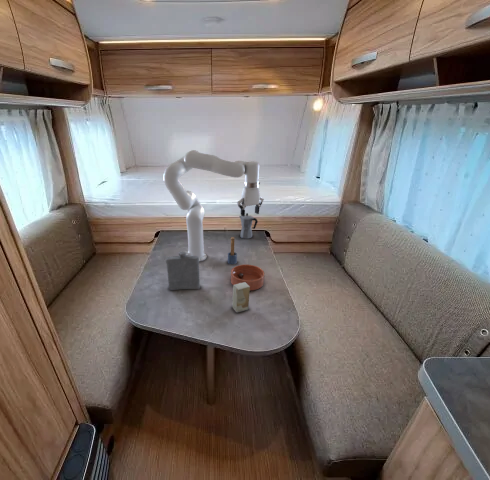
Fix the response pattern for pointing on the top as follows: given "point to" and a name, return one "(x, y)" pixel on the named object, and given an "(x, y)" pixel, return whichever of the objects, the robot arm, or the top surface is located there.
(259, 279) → the bowl
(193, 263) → the hip flask
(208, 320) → the top surface
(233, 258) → the cup
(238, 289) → the cosmetic box
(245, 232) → the coffeepot
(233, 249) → the stick
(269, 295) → the top surface
